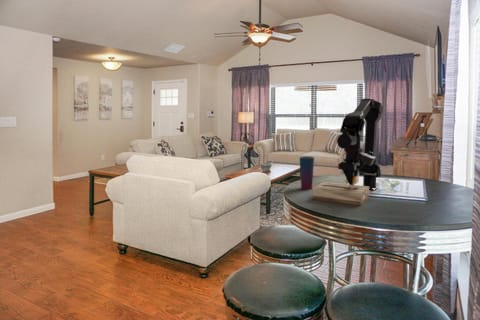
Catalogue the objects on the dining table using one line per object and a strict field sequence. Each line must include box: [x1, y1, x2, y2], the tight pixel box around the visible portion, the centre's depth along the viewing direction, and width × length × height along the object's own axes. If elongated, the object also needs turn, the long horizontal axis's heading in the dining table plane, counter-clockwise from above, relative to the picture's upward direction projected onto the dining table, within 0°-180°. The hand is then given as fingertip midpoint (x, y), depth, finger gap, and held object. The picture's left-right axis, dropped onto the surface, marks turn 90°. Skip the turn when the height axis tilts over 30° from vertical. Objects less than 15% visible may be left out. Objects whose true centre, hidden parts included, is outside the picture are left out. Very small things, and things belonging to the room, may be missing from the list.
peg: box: [345, 174, 360, 190], centre depth 149 cm, size 4×4×8 cm
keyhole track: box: [312, 181, 370, 206], centre depth 152 cm, size 13×20×5 cm, turn 57°
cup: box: [299, 155, 315, 191], centre depth 171 cm, size 7×7×15 cm
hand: (352, 183), depth 149 cm, fingers closed on peg, 4 cm apart
